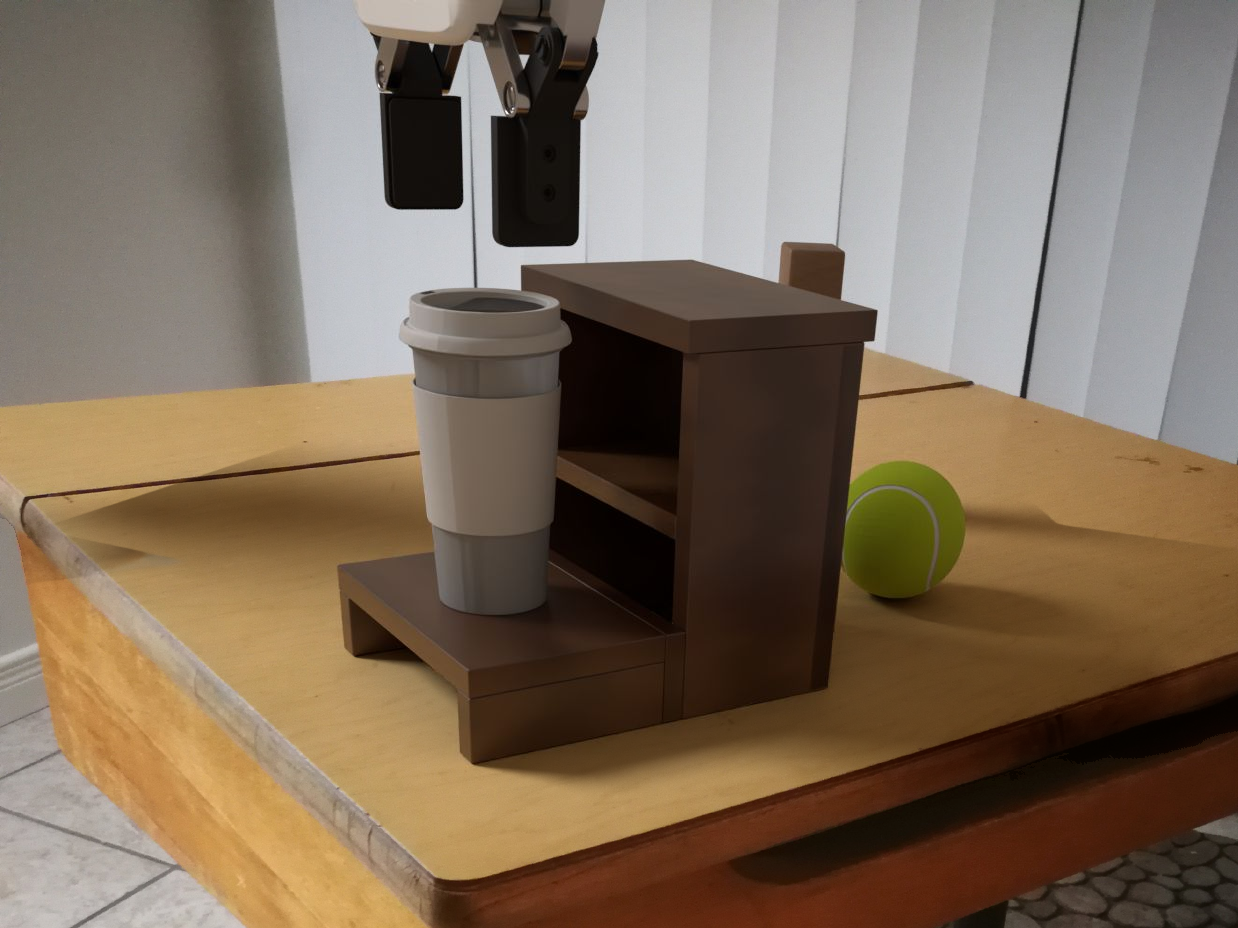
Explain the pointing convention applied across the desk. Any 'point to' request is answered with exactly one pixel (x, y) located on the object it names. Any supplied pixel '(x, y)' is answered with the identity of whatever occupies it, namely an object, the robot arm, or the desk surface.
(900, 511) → the tennis ball
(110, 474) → the desk surface
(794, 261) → the wooden block
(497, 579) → the cup
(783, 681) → the shelf
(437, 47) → the robot arm
